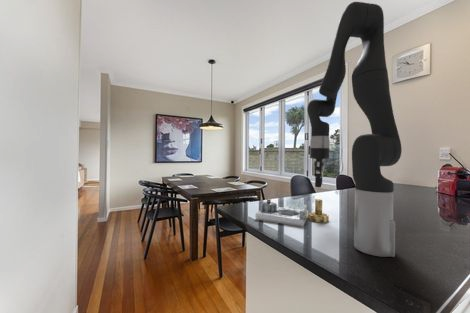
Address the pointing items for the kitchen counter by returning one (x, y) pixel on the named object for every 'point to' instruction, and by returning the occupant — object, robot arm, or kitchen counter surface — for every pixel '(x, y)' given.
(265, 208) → the carrier
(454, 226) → the kitchen counter surface
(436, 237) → the kitchen counter surface
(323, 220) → the planet gear
